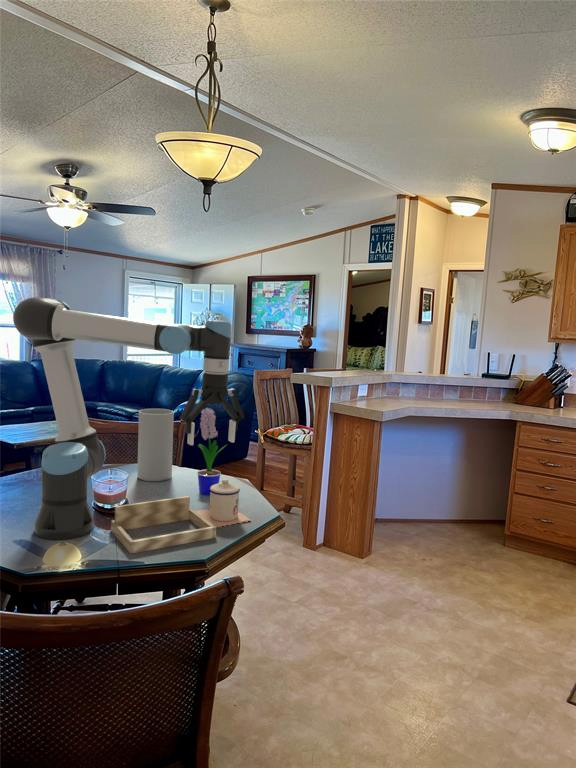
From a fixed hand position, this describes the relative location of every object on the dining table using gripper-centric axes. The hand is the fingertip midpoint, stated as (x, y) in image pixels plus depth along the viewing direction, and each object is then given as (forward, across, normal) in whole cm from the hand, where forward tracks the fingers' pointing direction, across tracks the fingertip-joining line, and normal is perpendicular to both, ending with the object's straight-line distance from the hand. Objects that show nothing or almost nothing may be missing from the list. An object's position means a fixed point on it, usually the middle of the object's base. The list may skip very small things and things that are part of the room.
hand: (211, 443), depth 168 cm
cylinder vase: (+24, +1, +46) cm, 52 cm away
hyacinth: (+24, +12, +21) cm, 34 cm away
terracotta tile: (+23, +4, -2) cm, 24 cm away
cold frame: (+24, -16, -7) cm, 29 cm away
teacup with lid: (+23, +5, -2) cm, 23 cm away
